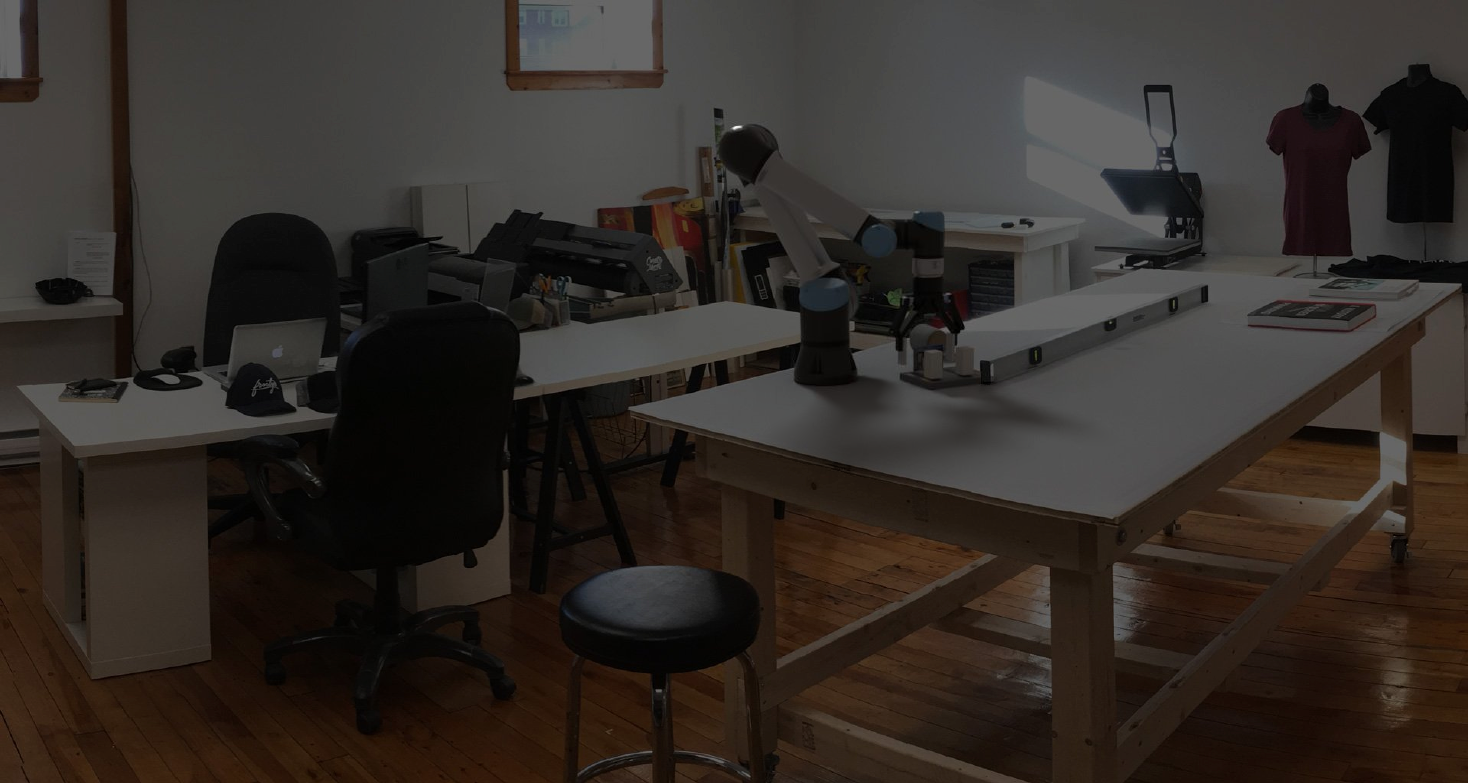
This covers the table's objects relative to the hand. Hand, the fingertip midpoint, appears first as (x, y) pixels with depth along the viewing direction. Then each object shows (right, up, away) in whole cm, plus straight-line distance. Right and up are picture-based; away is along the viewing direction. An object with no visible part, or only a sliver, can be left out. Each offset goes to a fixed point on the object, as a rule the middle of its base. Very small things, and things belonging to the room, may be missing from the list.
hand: (926, 362), depth 314 cm
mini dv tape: (+1, -2, 0) cm, 2 cm away
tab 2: (+7, -3, -15) cm, 16 cm away
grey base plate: (+3, -5, -13) cm, 14 cm away
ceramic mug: (+5, +2, +21) cm, 21 cm away
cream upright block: (-1, -4, -18) cm, 18 cm away
